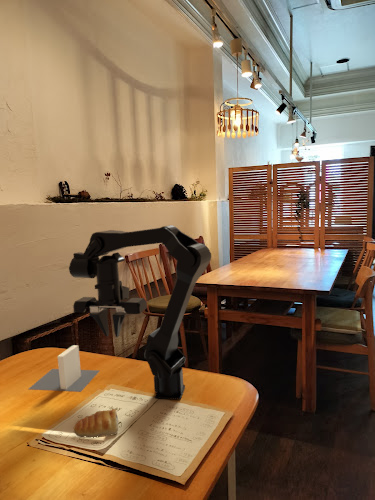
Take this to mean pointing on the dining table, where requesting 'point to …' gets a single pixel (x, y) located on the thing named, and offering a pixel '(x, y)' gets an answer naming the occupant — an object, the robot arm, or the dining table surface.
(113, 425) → the pastry
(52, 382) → the mat
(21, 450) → the dining table surface
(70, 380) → the tile
